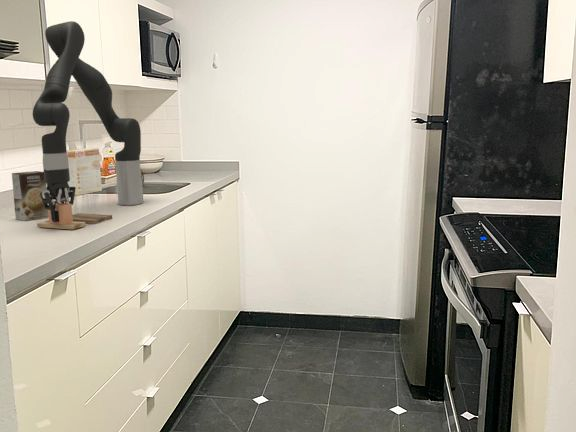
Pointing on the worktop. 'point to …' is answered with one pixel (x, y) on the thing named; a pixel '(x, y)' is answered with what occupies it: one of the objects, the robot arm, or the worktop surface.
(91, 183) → the coffeecake box
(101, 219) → the brown notebook
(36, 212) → the coffee box
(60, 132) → the robot arm
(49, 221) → the stub
